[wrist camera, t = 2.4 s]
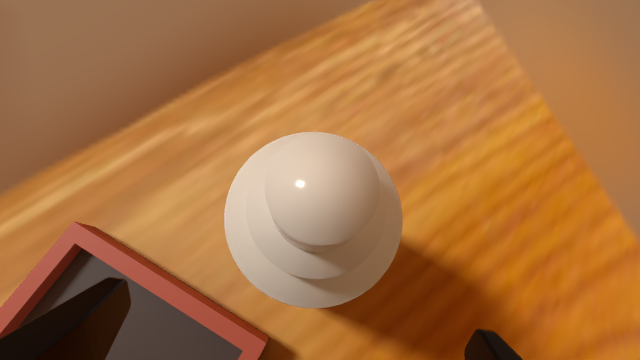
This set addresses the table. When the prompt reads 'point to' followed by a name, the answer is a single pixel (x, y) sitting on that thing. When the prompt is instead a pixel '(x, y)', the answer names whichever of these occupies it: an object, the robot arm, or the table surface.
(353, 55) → the table surface
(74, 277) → the lacquer tray
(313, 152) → the white sake bottle
